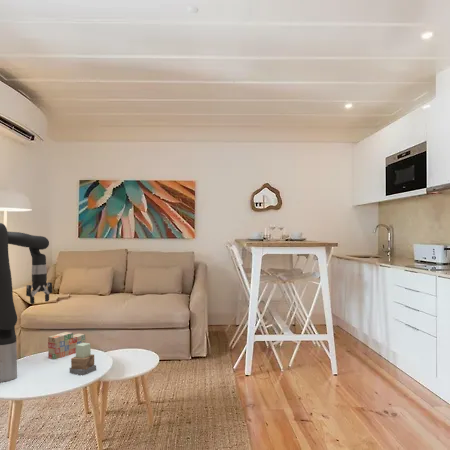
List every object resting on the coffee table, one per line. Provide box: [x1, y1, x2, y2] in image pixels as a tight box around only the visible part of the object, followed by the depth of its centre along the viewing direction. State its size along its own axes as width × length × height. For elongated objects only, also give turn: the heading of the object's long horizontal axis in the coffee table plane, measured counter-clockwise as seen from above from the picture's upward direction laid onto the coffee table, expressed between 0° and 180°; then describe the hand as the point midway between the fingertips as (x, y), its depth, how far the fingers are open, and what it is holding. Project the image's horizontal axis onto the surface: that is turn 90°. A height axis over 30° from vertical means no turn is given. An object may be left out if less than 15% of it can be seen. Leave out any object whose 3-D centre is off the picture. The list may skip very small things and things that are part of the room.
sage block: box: [75, 342, 92, 358], centre depth 208 cm, size 5×5×6 cm
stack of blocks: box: [47, 331, 86, 360], centre depth 240 cm, size 21×6×12 cm, turn 151°
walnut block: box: [70, 353, 95, 370], centre depth 208 cm, size 8×8×5 cm
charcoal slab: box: [69, 364, 97, 376], centre depth 207 cm, size 9×9×3 cm
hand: (39, 302), depth 227 cm, fingers open, 8 cm apart
